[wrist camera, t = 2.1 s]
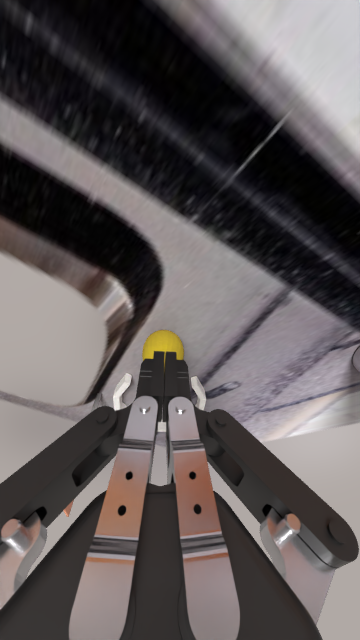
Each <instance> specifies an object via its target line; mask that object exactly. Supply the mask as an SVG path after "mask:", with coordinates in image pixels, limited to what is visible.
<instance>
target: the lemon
mask: <svg viewBox="0 0 360 640" xmlns="http://www.w3.org/2000/svg"><path fill="white" fill-rule="evenodd" d="M154 351H165V353H166V351H169V352H176V353H177V360H183V356H184V349H183V345H182V342H181V340H180V338H179V337H178V336H177V335H176V334H175V333H173V332H171V331H168V330H159V331H156V332H154V333H152V334H151V335H150V336H149V337H148V338H147V340H146V342H145V344H144V346H143V353H142V357H143V361H144V360H145V358H147V359H153V355H154ZM164 366H165V359H164Z"/></svg>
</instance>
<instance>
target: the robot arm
mask: <svg viewBox="0 0 360 640" xmlns="http://www.w3.org/2000/svg"><path fill="white" fill-rule="evenodd" d="M164 359H165V366H164ZM353 365H354V367H355V368H356V369H357V370H358V371H359V372H360V347H359V348H358V349H357V351H356V352H355V354H354V357H353ZM162 407H163V421H162V422H166V434H165V438H166V454H167V485H164V486H156V485H153V484H150V481H151V472H152V464H153V456H154V449H155V441H156V435H157V432H158V422H161V420H162ZM116 454H117V455H116ZM115 456H116V458H115V462H114V466H113V469H112V473H111V477H110V480H109V484H108V488H107V490H106V491H105V492H103V493H102V494H100V495H99V496H97V497H96V498H95V499H94V500H93V501H92V502H91V503H90V504H89V505H88V506H87V507H86V508H85V510H84V511H83V512H82V513H81V514H80V516H79V517H78V518H77V519H76V520H75V522H74V523H73V524H72V525H71V526H70V528H69V529H68V530H67V531H66V532H65V533H64V535H63V536H62V537H61V538H60V539H59V541H58V542H57V543H56V544H55V546H54V547H53V548H52V549H51V550H50V551H49V552H48V554H47V555H46V556H45V557H44V558H43V560H42V561H41V562H40V563H39V564H38V566H37V567H36V568H35V569H34V570H33V572H32V573H31V574H30V575H29V576H28V577H27V574H28V572H29V570H30V568H31V566H32V565H33V563H34V562H35V560H36V559H37V558H38V556H39V555H40V553H41V552H42V550H43V548H44V546H45V543H46V539H47V529H46V528H47V527H48V526H49V525H50V524H51V523H52V522H53V521H54V520H55V519H56V517H58V515H59V514H60V513H61V512H62V511H63V510H64V509H65V508H66V507H67V506H68V505H69V504H70V503H71V502H72V501H73V500H74V499H75V498H76V496H77V495H78V494H79V493H80V492H81V491H82V490H83V489H84V488H85V487H86V486H87V485H88V484H89V483H90V482H91V481H92V480H93V478H95V477H96V475H97V474H98V473H99V472H100V471H101V470H102V469H103V468H104V467H105V466H106V465H107V464H108V463H109V462H110V461H111V459H113V458H114V457H115ZM207 461H208V462H209V463H210V465H211V466H212V467H213V468H214V469H215V471H216V472H217V473H218V474H219V475H220V476H221V478H222V479H223V480H224V481H225V482H226V484H227V485H228V486H229V487H230V488H231V490H232V491H233V492H234V493H235V494H236V496H238V498H239V499H240V500H241V501H242V503H243V504H244V505H245V506H246V507H247V509H248V510H249V511H250V512H251V513H252V515H253V516H254V517H255V518H256V519H257V521H258V522H259V523H260V524H261V525H260V536H261V540H262V543H263V545H264V547H265V548H266V550H267V552H268V553H269V555H270V557H271V559H272V561H273V564H274V565H273V564H272V562H271V561H270V560H269V558H268V557H267V556H266V554H265V553H264V552H263V550H262V549H261V548H260V546H259V545H258V544H257V542H256V541H255V540H254V538H253V537H252V536H251V534H250V533H249V532H248V530H247V529H246V528H245V526H244V525H243V524H242V522H241V521H240V520H239V518H238V517H237V516H236V514H235V513H234V511H232V509H231V507H230V506H229V505H228V504H227V502H226V501H225V500H224V499H223V498H222V497H221V496H220V495H219V494H218V493H216V492H215V491H213V487H212V483H211V478H210V473H209V468H208V463H207ZM358 552H359V548H358V543H357V539H356V537H355V535H354V533H353V531H352V529H351V528H350V526H349V525H348V524H347V522H346V521H345V520H344V519H343V518H342V517H341V516H340V515H339V514H337V513H336V512H335V511H334V510H333V509H332V508H331V507H330V506H329V505H327V503H326V502H324V501H323V500H322V499H321V498H320V497H319V496H318V495H317V494H316V493H315V492H314V491H313V490H311V489H310V488H309V487H308V486H307V485H306V484H305V483H304V482H303V481H301V479H299V478H298V477H297V476H296V475H295V474H294V473H293V472H292V471H291V470H290V469H289V468H287V467H286V466H285V465H284V464H283V463H282V462H281V461H280V460H279V459H278V458H277V457H276V456H275V455H273V454H272V453H271V452H270V451H269V450H268V449H267V448H266V447H265V446H264V445H263V444H261V443H260V442H259V441H258V440H257V439H256V438H255V437H254V436H253V435H252V434H251V433H250V432H248V431H247V430H246V429H245V428H244V427H243V426H242V425H241V424H240V423H239V422H238V421H237V420H235V419H234V418H233V417H232V416H231V415H230V414H229V413H228V412H226V411H224V410H221V409H216V410H213V411H211V412H210V413H209V412H206V411H203V410H201V409H199V408H197V407H196V406H195V405H194V404H193V403H192V401H191V396H190V385H189V375H188V366H187V364H186V362H185V361H184V360H177V353H176V352H169V351H166V353H165V351H154V355H153V359H147V358H145V360H144V361H143V362H142V364H141V369H140V375H139V381H138V387H137V394H136V398H135V400H134V402H133V403H132V404H131V405H129V406H128V407H126V408H123V409H120V410H116V411H115V410H114V409H113V408H111V407H108V406H102V407H99V408H97V409H95V410H94V411H92V412H91V413H90V414H88V415H87V416H86V417H85V418H83V419H82V420H81V421H80V422H78V423H77V424H76V425H75V426H73V427H72V428H71V429H70V430H68V431H67V432H66V433H65V434H63V435H62V436H61V437H59V438H58V439H57V440H56V441H54V442H53V443H52V444H51V445H49V446H48V447H47V448H45V449H44V450H43V451H42V452H40V453H39V454H38V455H37V456H35V457H34V458H33V459H31V460H30V461H29V462H28V463H26V464H25V465H24V466H23V467H21V468H20V469H19V470H18V471H16V472H15V473H14V474H13V475H11V476H10V477H9V478H7V479H6V480H5V481H4V482H2V483H1V484H0V640H322V637H321V635H320V633H319V630H318V628H317V627H316V624H317V622H318V618H319V616H320V613H321V610H322V607H323V604H324V601H325V598H326V596H327V592H328V590H329V587H330V584H331V581H332V578H333V575H334V572H335V570H336V569H337V568H339V567H341V566H343V565H346V564H348V563H350V562H352V561H354V560H355V559H356V558H357V556H358ZM26 577H27V579H26Z"/></svg>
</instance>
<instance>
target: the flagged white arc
mask: <svg viewBox="0 0 360 640" xmlns="http://www.w3.org/2000/svg"><path fill="white" fill-rule="evenodd" d="M131 377H132V375H130V374H127V373H126V374H125V376H124V377H123V378H122V380H121V381H120V382H119V383H118V385H117V386H116V389H115V392H114V396H113V401H114V409H115V411H116V410H120V409H123V408H126V407H127V406H126V405H125V404H124V403H123V401H122V394H123V392H124V391H125V390H126V389H127V387H128V386H129V385H130V382H131ZM191 383H192V388H193V389H194V391H195V392H196V394H197V395H198V399H197V404H196V405H195V406H196V407H197V408H199V409H201V410H203V411H204V407H205V403H206V396H205V390H204V388H203V386H202V384H201V383H200V381H199V380H198V378H197V376H194V377H191ZM101 396H102V394H101V393H98V394H97V396H96V399H95V402H94V405H93V408H92V410H91V412H92V411H94V410H95V409H97V408H98V405H99V402H100V399H101ZM162 421H163V419H162V420H161V422H158V432H166V422H162ZM73 501H74V500H73ZM73 501H72V502H71V503H70V504H69V505H68V506H67V507H66V508H65V509H64V512H65V514H66V516H67V517H69V513H70V511H71V507H72V504H73Z"/></svg>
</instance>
